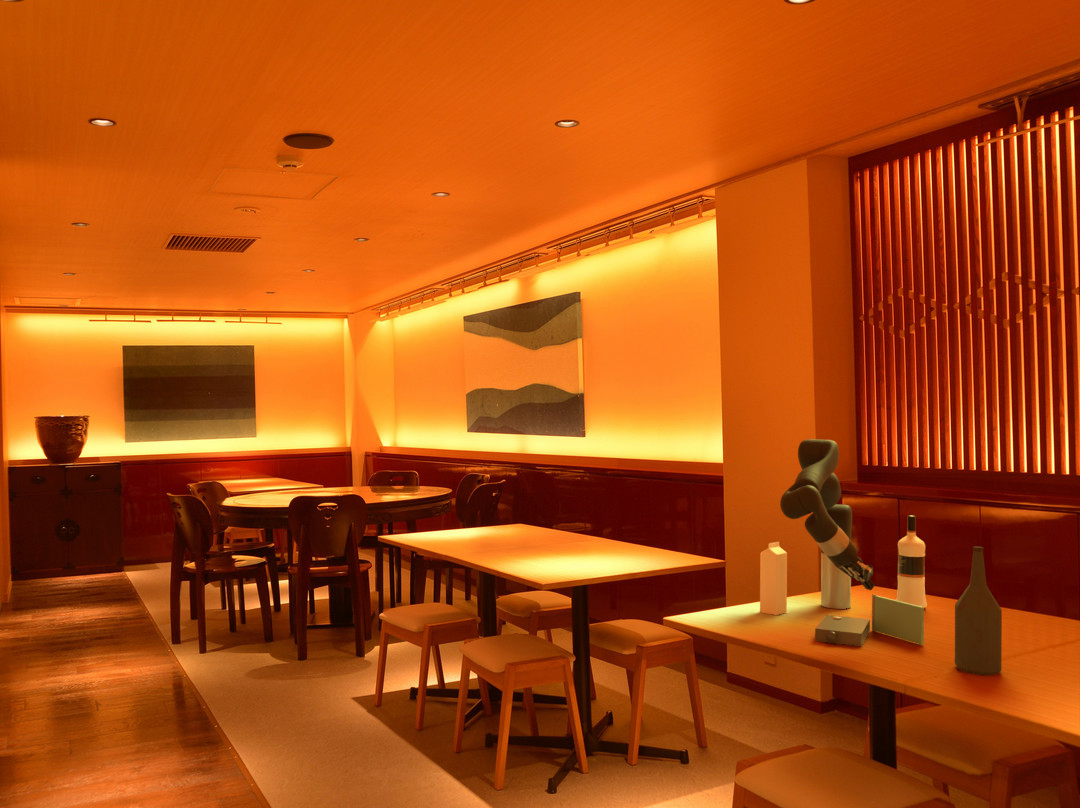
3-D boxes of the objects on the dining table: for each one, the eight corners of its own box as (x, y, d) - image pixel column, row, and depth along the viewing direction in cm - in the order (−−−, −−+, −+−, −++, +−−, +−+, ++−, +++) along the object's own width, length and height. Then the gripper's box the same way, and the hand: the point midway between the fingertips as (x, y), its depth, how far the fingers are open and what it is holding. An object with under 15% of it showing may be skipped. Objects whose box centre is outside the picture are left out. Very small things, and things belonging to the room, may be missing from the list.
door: (870, 630, 258) (871, 594, 258) (874, 630, 258) (874, 594, 258) (920, 645, 241) (921, 606, 241) (924, 645, 241) (924, 606, 242)
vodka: (923, 611, 285) (923, 517, 286) (892, 608, 291) (893, 515, 291) (929, 607, 293) (929, 515, 294) (899, 603, 298) (899, 513, 299)
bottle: (1004, 669, 219) (1004, 546, 219) (998, 678, 211) (999, 550, 211) (958, 662, 225) (958, 542, 225) (951, 671, 216) (951, 546, 217)
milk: (786, 613, 281) (788, 542, 281) (776, 615, 277) (777, 544, 277) (769, 609, 285) (771, 540, 286) (759, 612, 281) (760, 542, 282)
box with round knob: (826, 626, 262) (826, 613, 262) (870, 631, 257) (870, 617, 257) (814, 642, 243) (814, 628, 243) (860, 648, 238) (860, 633, 238)
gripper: (861, 537, 233) (897, 581, 238) (826, 531, 245) (861, 573, 250) (845, 558, 231) (881, 602, 236) (811, 551, 243) (846, 593, 248)
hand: (870, 587), depth 243 cm, fingers closed
